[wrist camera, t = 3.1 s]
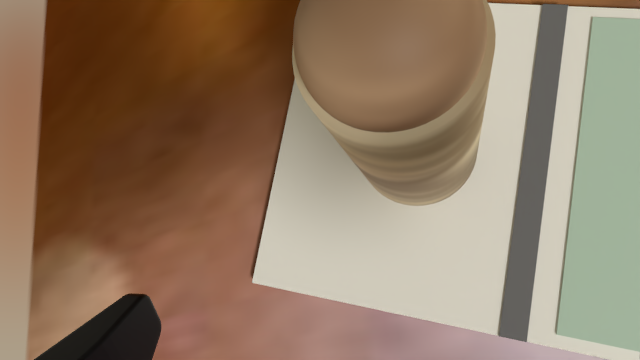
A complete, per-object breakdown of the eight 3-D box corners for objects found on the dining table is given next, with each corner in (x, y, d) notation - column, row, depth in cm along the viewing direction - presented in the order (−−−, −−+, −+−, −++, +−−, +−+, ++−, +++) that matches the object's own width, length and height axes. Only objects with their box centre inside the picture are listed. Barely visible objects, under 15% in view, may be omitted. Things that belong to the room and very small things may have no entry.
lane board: (255, 282, 23) (251, 282, 23) (314, 0, 25) (311, -6, 25) (861, 413, 17) (873, 416, 16) (869, 24, 19) (880, 17, 19)
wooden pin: (406, 229, 21) (347, 157, 10) (338, 141, 23) (214, -14, 11) (503, 156, 21) (565, -13, 9) (426, 72, 23) (396, -166, 11)
